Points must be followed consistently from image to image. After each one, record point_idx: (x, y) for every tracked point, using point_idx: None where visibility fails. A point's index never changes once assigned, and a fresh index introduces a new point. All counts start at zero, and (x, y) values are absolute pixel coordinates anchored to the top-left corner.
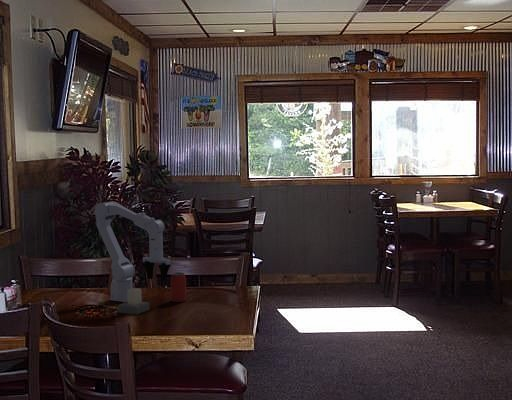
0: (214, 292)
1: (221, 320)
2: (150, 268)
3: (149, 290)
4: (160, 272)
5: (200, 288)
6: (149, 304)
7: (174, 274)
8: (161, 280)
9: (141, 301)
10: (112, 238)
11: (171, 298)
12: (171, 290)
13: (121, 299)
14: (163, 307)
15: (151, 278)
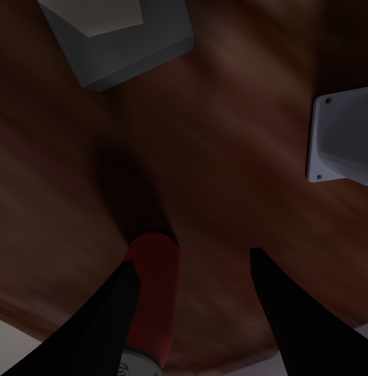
0: (172, 346)
1: None
2: (295, 363)
3: (364, 286)
4: (90, 319)
5: (238, 355)
6: (87, 88)
7: (139, 360)
8: (129, 262)
9: (80, 29)
10: None
11: (160, 238)
12: (152, 261)
13: (350, 100)
14: (103, 159)
15: (251, 267)
